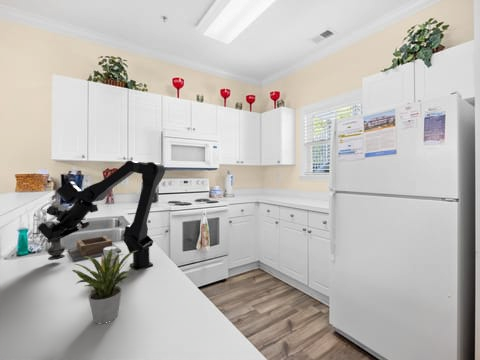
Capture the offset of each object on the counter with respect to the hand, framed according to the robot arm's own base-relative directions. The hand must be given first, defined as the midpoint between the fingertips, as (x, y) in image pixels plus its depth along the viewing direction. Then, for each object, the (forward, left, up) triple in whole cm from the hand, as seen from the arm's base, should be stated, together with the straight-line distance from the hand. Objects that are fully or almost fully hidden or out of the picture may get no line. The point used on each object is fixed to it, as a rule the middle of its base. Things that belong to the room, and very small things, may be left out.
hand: (52, 240), depth 94 cm
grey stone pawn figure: (-1, -1, -7) cm, 7 cm away
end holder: (+5, -15, -9) cm, 18 cm away
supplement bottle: (-28, -13, -9) cm, 32 cm away
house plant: (-52, -7, -9) cm, 53 cm away
